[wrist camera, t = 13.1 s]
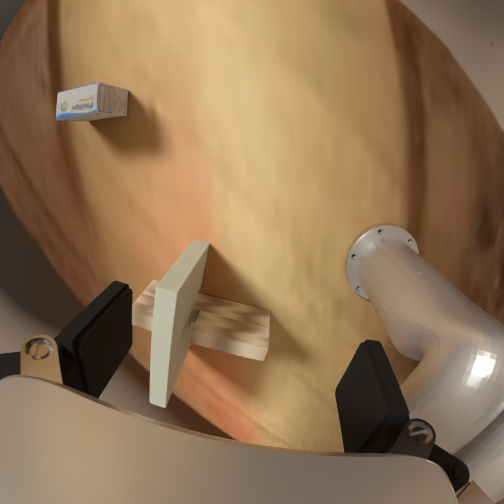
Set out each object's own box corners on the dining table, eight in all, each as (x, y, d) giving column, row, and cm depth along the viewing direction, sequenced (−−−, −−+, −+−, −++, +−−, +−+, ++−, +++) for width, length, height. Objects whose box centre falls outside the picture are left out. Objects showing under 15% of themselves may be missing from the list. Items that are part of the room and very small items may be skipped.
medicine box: (129, 89, 36) (99, 80, 28) (127, 116, 38) (97, 113, 30) (89, 96, 37) (56, 91, 29) (87, 122, 38) (54, 121, 30)
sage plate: (194, 239, 44) (155, 286, 29) (209, 243, 44) (177, 292, 29) (178, 340, 51) (149, 402, 36) (191, 343, 51) (165, 408, 36)
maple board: (270, 310, 47) (268, 348, 38) (266, 322, 48) (263, 361, 39) (153, 279, 47) (128, 309, 38) (152, 291, 48) (128, 323, 38)
